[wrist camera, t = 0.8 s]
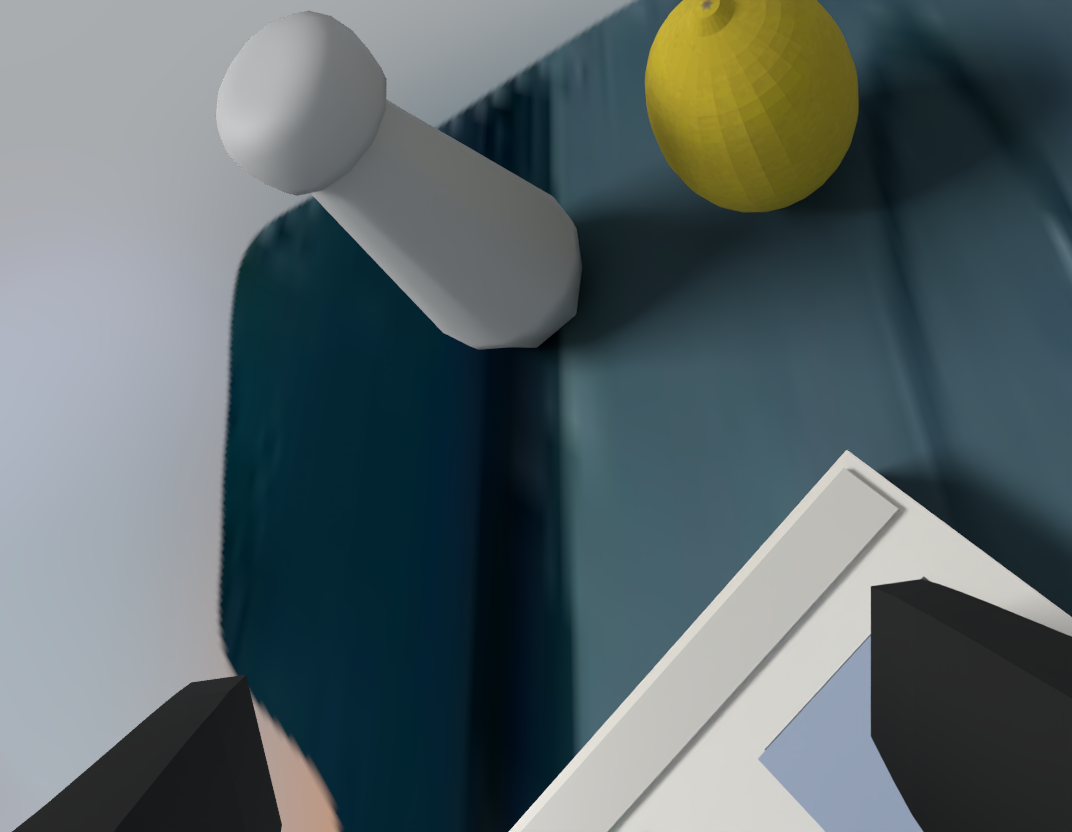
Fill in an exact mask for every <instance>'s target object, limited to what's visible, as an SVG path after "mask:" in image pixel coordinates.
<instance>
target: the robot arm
mask: <svg viewBox="0 0 1072 832" xmlns="http://www.w3.org/2000/svg"><path fill="white" fill-rule="evenodd" d="M871 738H872V740H873V742H874V744H875V746H876V748H877V750H878V752H879V754H880V756H881V758H882V760H883V761H884V763H885V765H886V767H887V769H888V771H889V773H890V775H891V777H892V779H893V781H894V783H895V785H896V787H897V788H898V790H899V792H900V794H901V796H902V797H903V799H904V801H905V803H906V805H907V807H908V808H909V810H910V812H911V814H912V816H913V817H914V819H915V820H916V822H917V823H918V825H919V826H920V828H921V829H922V831H923V832H1072V636H1069V635H1067V634H1064V633H1062V632H1059V631H1057V630H1054V629H1052V628H1050V627H1047V626H1045V625H1042V624H1040V623H1037V622H1035V621H1032V620H1030V619H1028V618H1025V617H1023V616H1020V615H1018V614H1015V613H1013V612H1011V611H1008V610H1006V609H1003V608H1001V607H998V606H996V605H993V604H991V603H988V602H986V601H983V600H981V599H978V598H976V597H973V596H971V595H968V594H965V593H963V592H960V591H957V590H955V589H952V588H949V587H946V586H943V585H941V584H937V583H934V582H931V581H927V580H924V579H918V580H911V581H904V582H897V583H890V584H883V585H876V586H871ZM281 827H282V824H281V819H280V815H279V811H278V807H277V803H276V799H275V795H274V790H273V786H272V782H271V778H270V774H269V769H268V765H267V761H266V757H265V753H264V748H263V744H262V740H261V736H260V732H259V728H258V723H257V719H256V715H255V711H254V706H253V702H252V698H251V694H250V690H249V686H248V681H247V677H246V675H241V676H234V677H227V678H220V679H213V680H207V681H199V682H192V683H190V684H189V685H187V686H186V687H185V688H183V689H182V690H180V691H179V692H178V693H176V694H175V695H174V696H173V697H171V698H170V699H169V700H168V701H166V702H165V703H164V704H163V705H162V706H160V707H159V708H158V709H157V710H156V711H155V712H153V713H152V714H151V715H150V716H149V717H147V718H146V719H145V720H144V721H143V722H142V723H140V724H139V725H138V726H137V727H136V728H135V729H133V730H132V731H131V732H130V733H129V734H128V735H127V736H125V737H124V738H123V739H122V740H121V741H120V742H118V743H117V744H116V745H115V746H114V747H113V748H112V749H110V750H109V751H108V752H107V753H106V754H105V755H103V756H102V757H101V758H100V759H99V760H98V761H96V762H95V763H94V764H93V765H92V766H91V767H90V768H88V769H87V770H86V771H85V772H84V773H82V774H81V775H80V776H79V777H78V778H77V779H75V780H74V781H73V782H72V783H71V784H70V785H69V786H67V787H66V788H65V789H64V790H63V791H61V792H60V793H59V794H58V795H57V796H56V797H54V798H53V799H52V800H51V801H50V802H48V804H46V805H45V806H44V807H42V808H41V809H40V810H39V811H38V812H36V813H35V814H34V815H33V816H31V817H30V818H29V819H27V820H26V821H25V822H24V823H22V824H21V825H20V826H19V827H17V828H16V829H15V830H14V831H12V832H281Z"/></svg>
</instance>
